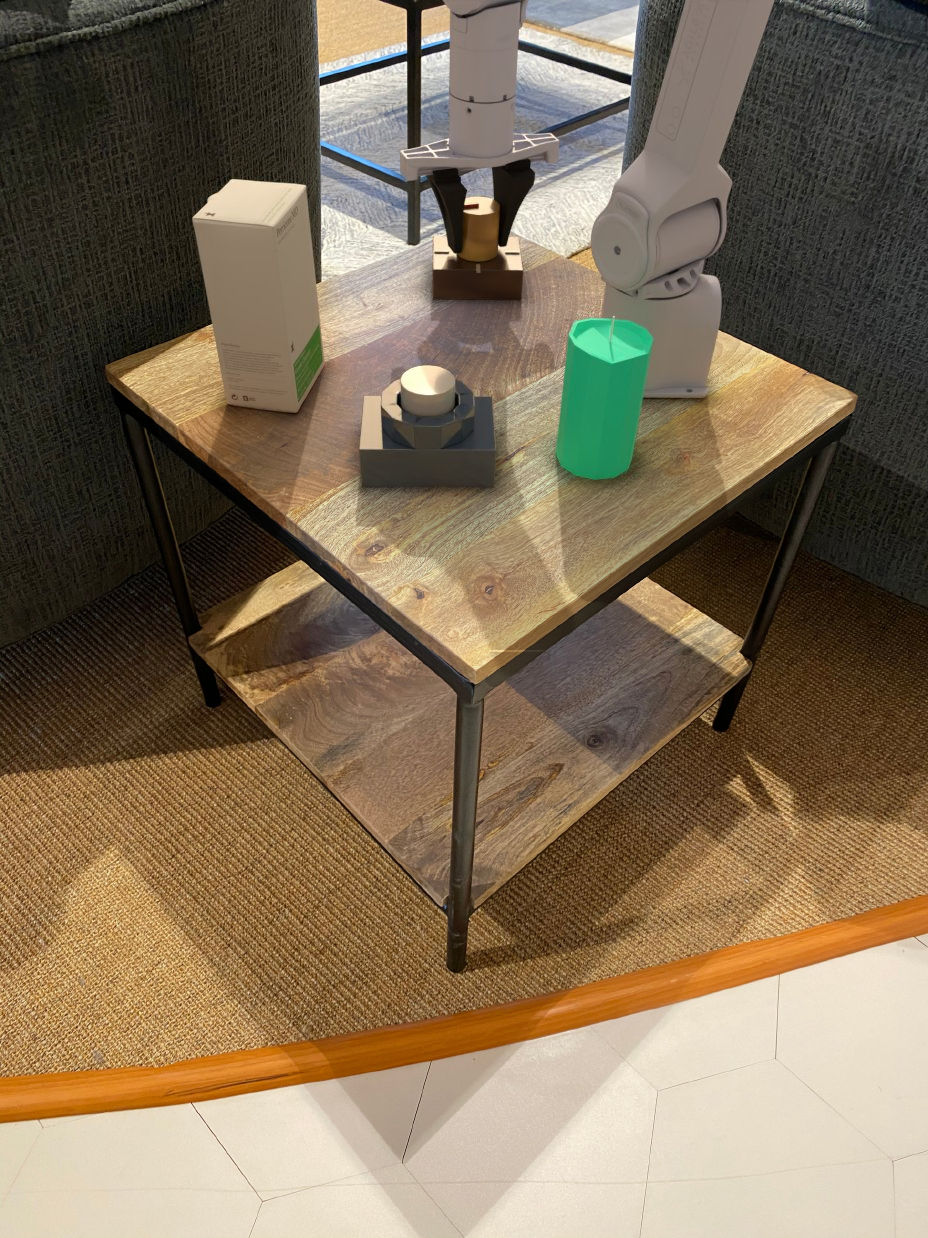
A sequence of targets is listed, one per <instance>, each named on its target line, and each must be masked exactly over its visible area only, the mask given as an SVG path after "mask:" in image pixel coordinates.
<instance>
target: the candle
mask: <svg viewBox="0 0 928 1238" xmlns="http://www.w3.org/2000/svg"><path fill="white" fill-rule="evenodd" d="M652 344H653V337H652V336H651V334H650V333H649V332H648V330H647V329H646V328H644V327H642V326H640V325H638V324H636V323H634V322H632V321H628V320H619V319H615V316H613V318H612V319H609V318H601V317H599V318H598V317H597V318H595V317H589V318H588V317H587V318H584V319H579V320H575V321H573V323H572V325H571V328H570V330H569V332H568V336H567V344H566V354H565V363H564V364H565V365H564V374H563V383H562V392H561V401H560V410H559V420H558V429H557V438H556V439H557V440H556V447H555V456H556V458H557V460H558V463H559V465H560V467H561V468H563V469H565V470H566V471H568V472H569V473H570V474H572V475H574V476H576V477H579V478H580V477H581V478H586V479H590V480H594V481H597V480H607V479H615V478H616V477H619V476H620V475H621V474H623V473H625V472H627V471H629V469H630V466H631V463H632V460H633V457H634V451H635V445H636V440H637V434H638V427H639V422H640V417H641V412H642V411H641V410H642V407H643V406H642V405H643V400H644V397H643V395H644V389H645V383H646V378H647V372H648V367H649V361H650V355H651V350H652Z"/></svg>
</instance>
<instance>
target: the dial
mask: <svg viewBox="0 0 928 1238" xmlns="http://www.w3.org/2000/svg"><path fill="white" fill-rule="evenodd" d="M499 219H500V205H499V203H498V202H497V201H495V200H494V198H490V197H486V196H469V197H466V198H465V204H464V211H463V221H462V230H463V245H462V253H457V255H458V256H459V257H461V258H463V259H465V260H468V261H475V262H481V261H488V260H491V259H493V258H495V257H496V256H497V254H498V240H499Z"/></svg>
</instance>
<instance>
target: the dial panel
mask: <svg viewBox="0 0 928 1238" xmlns="http://www.w3.org/2000/svg"><path fill="white" fill-rule="evenodd" d="M523 281H524V266H523V257H522V250H521V243H520V237H519V236H509V238H508V242H507V246H505V247H500V246H499V245H498V254H497V256H496V257H495V258H493V259H491V260H488V261H481V262H475V261H468V260H465V259H463V258H461V257H459V256H458V255H457V254H455V253H453V251H452V250H451V249H450V247H449V246H448V242H447V235H445V236H443V235H442V236H441V235H436V236H435V235H434V236H432V299H433V300H501V301H502V300H504V301H505V300H509V301H510V300H511V301H512V300H513V301H514V300H515V301H521V300H522V298H523V297H522V295H523V283H524V282H523Z"/></svg>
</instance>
